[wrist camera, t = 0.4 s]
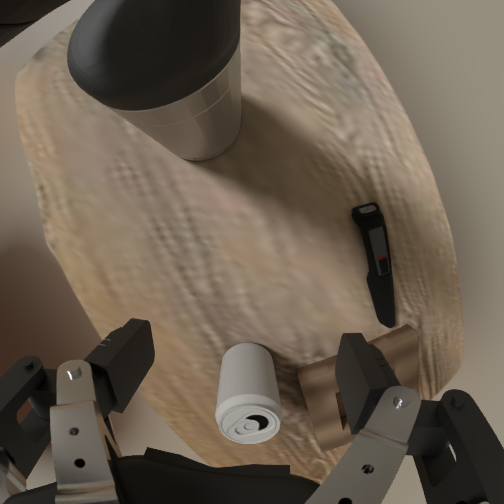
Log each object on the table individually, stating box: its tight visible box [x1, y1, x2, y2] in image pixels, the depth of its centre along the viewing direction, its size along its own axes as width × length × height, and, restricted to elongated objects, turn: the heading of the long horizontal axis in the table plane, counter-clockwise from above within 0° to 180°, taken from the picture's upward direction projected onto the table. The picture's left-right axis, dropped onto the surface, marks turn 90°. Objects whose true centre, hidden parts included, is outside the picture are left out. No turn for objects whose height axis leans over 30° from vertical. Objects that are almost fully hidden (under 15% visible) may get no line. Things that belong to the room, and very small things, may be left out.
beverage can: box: [216, 343, 282, 444], centre depth 27 cm, size 6×6×12 cm
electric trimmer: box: [352, 203, 395, 328], centre depth 30 cm, size 4×16×3 cm, turn 17°
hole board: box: [296, 324, 418, 452], centre depth 33 cm, size 17×17×3 cm
